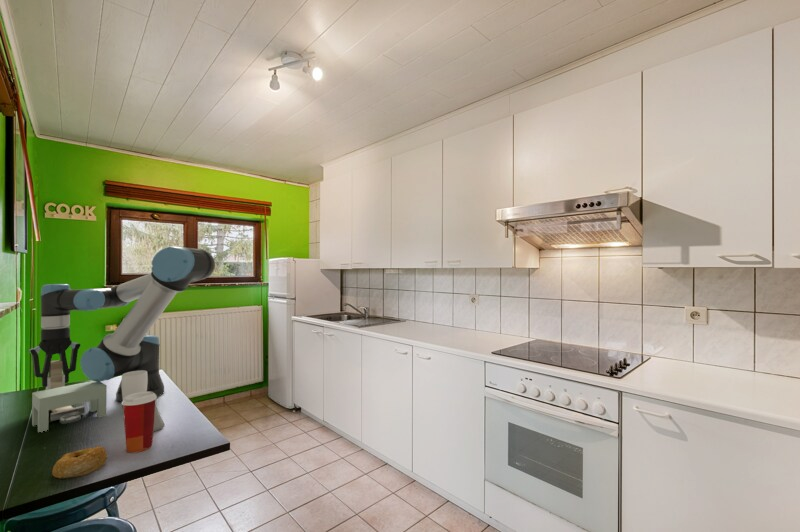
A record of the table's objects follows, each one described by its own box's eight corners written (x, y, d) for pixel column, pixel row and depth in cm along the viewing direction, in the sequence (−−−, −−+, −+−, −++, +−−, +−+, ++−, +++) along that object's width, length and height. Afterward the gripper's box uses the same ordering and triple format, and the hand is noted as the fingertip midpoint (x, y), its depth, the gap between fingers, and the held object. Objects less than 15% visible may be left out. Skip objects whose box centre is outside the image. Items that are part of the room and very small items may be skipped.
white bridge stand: (31, 424, 114) (32, 392, 114) (96, 409, 127) (96, 380, 127) (39, 432, 108) (39, 398, 108) (106, 415, 121) (106, 385, 121)
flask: (153, 434, 106) (153, 400, 106) (128, 434, 106) (128, 400, 107) (169, 424, 113) (169, 391, 114) (146, 424, 114) (146, 391, 114)
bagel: (107, 454, 95) (107, 435, 95) (106, 472, 87) (107, 451, 87) (55, 466, 89) (55, 447, 89) (48, 487, 80) (49, 465, 81)
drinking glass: (117, 425, 112) (117, 376, 113) (126, 417, 119) (127, 371, 119) (142, 423, 114) (142, 375, 115) (150, 415, 121) (151, 369, 121)
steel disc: (83, 416, 120) (83, 410, 120) (77, 422, 115) (77, 416, 115) (64, 419, 118) (64, 413, 118) (56, 425, 113) (56, 418, 114)
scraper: (38, 408, 127) (38, 363, 127) (69, 401, 133) (69, 358, 133) (51, 421, 115) (51, 371, 115) (84, 413, 121) (84, 366, 122)
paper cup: (151, 438, 104) (151, 388, 104) (160, 446, 99) (161, 394, 99) (117, 449, 97) (117, 396, 98) (125, 458, 93) (126, 402, 93)
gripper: (82, 324, 138) (81, 386, 138) (21, 329, 125) (20, 398, 125) (87, 325, 134) (87, 390, 133) (25, 331, 121) (25, 403, 120)
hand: (55, 394), depth 129 cm, fingers closed on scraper, 3 cm apart
